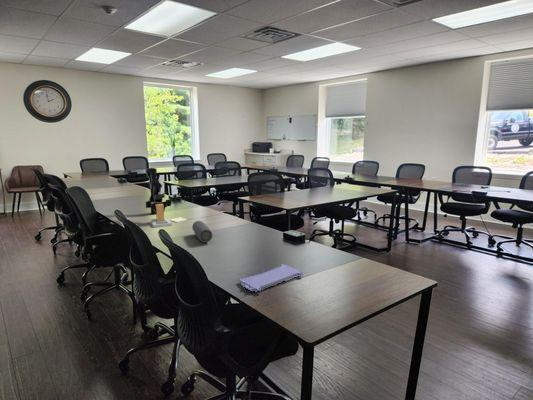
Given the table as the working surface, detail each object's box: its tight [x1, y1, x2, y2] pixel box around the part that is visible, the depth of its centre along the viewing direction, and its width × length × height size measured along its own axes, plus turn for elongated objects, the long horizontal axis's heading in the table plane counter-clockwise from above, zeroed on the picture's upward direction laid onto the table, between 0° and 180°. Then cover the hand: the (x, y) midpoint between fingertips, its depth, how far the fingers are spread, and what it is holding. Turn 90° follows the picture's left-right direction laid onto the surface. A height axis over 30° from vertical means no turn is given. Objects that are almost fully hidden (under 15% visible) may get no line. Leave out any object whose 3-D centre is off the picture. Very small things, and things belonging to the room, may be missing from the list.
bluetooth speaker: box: [191, 220, 213, 243], centre depth 216 cm, size 23×9×10 cm, turn 23°
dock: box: [150, 217, 173, 228], centre depth 252 cm, size 18×13×2 cm
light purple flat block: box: [238, 263, 304, 292], centre depth 156 cm, size 30×4×15 cm
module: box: [155, 204, 165, 222], centre depth 253 cm, size 5×5×13 cm
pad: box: [169, 216, 188, 223], centre depth 263 cm, size 10×10×1 cm
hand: (160, 212), depth 252 cm, fingers closed on module, 5 cm apart
